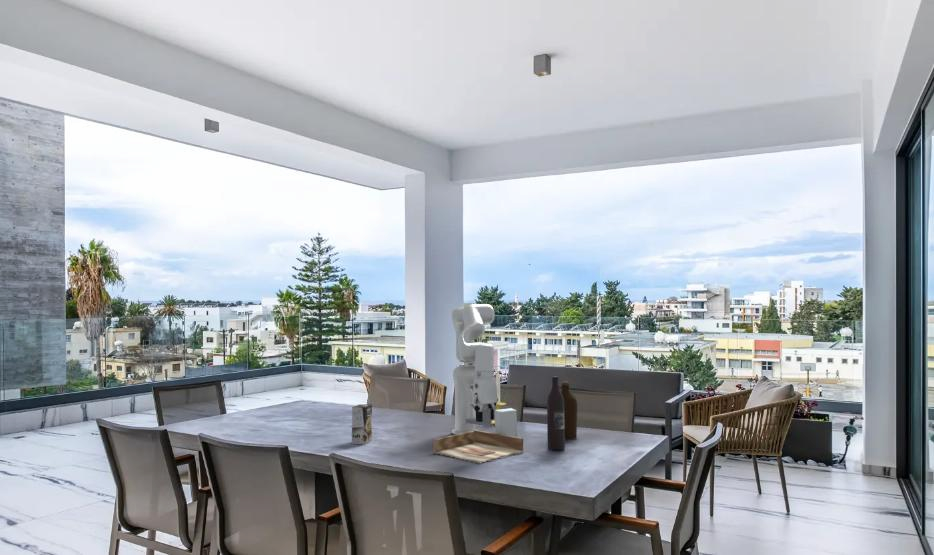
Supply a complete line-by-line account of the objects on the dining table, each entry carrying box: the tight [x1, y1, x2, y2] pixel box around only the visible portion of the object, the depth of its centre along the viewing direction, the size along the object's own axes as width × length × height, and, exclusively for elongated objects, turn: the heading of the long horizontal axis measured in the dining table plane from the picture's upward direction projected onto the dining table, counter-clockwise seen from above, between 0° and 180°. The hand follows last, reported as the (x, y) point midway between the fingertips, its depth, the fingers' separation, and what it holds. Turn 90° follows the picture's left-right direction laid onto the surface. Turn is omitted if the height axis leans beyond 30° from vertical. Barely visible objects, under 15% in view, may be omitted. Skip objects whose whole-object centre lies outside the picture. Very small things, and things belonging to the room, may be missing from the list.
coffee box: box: [351, 403, 373, 445], centre depth 280 cm, size 9×6×16 cm
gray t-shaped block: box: [466, 407, 493, 427], centre depth 256 cm, size 9×6×6 cm, turn 47°
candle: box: [490, 370, 507, 425], centre depth 325 cm, size 10×10×27 cm
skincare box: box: [494, 407, 518, 437], centre depth 274 cm, size 8×6×15 cm
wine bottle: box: [546, 375, 566, 452], centre depth 264 cm, size 7×7×30 cm
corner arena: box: [432, 429, 524, 464], centre depth 258 cm, size 26×26×6 cm
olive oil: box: [560, 380, 578, 440], centre depth 288 cm, size 11×11×25 cm
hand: (484, 420), depth 253 cm, fingers closed on gray t-shaped block, 6 cm apart
